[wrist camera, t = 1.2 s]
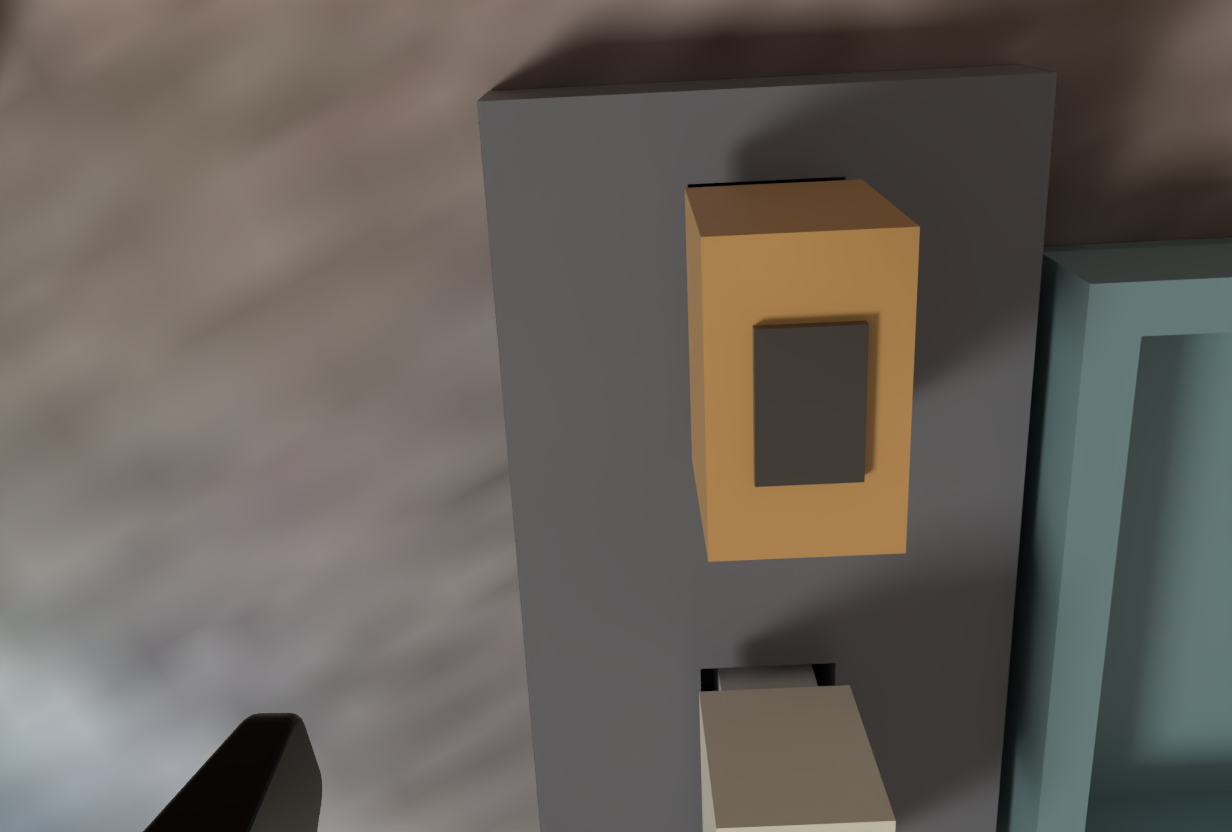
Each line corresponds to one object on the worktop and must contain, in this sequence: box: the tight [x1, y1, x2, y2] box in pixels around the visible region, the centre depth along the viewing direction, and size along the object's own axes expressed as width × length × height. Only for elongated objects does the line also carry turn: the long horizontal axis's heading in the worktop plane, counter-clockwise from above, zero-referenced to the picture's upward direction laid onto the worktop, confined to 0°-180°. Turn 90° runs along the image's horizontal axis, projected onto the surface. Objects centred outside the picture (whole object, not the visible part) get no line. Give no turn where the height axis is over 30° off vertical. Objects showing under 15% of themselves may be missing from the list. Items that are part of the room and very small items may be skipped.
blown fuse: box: [685, 179, 920, 562], centre depth 20 cm, size 5×3×7 cm, turn 3°
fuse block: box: [477, 64, 1058, 832], centre depth 24 cm, size 18×10×2 cm, turn 3°
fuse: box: [699, 664, 896, 832], centre depth 24 cm, size 5×3×7 cm, turn 3°
